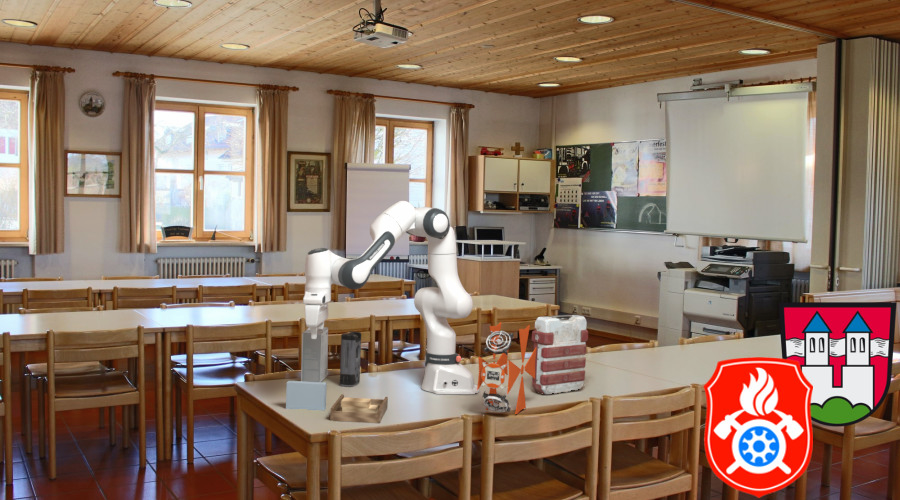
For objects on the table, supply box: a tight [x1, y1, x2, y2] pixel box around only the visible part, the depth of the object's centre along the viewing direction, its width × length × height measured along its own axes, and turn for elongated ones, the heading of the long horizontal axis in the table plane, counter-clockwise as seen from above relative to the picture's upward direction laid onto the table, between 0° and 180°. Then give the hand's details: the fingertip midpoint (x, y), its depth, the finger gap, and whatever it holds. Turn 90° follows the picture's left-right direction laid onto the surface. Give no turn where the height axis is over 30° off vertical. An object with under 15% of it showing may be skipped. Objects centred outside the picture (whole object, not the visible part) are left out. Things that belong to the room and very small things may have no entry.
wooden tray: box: [329, 393, 389, 424], centre depth 263 cm, size 16×19×4 cm
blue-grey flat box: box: [285, 380, 328, 412], centre depth 267 cm, size 13×3×9 cm, turn 87°
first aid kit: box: [531, 314, 589, 395], centre depth 309 cm, size 23×8×30 cm, turn 126°
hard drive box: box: [300, 326, 329, 382], centre depth 312 cm, size 16×8×20 cm, turn 178°
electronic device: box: [339, 331, 362, 388], centre depth 307 cm, size 9×6×20 cm, turn 168°
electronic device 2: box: [477, 321, 537, 415], centre depth 276 cm, size 11×30×30 cm, turn 156°
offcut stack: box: [339, 396, 378, 413], centre depth 259 cm, size 13×5×6 cm, turn 87°
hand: (317, 336), depth 271 cm, fingers open, 8 cm apart
